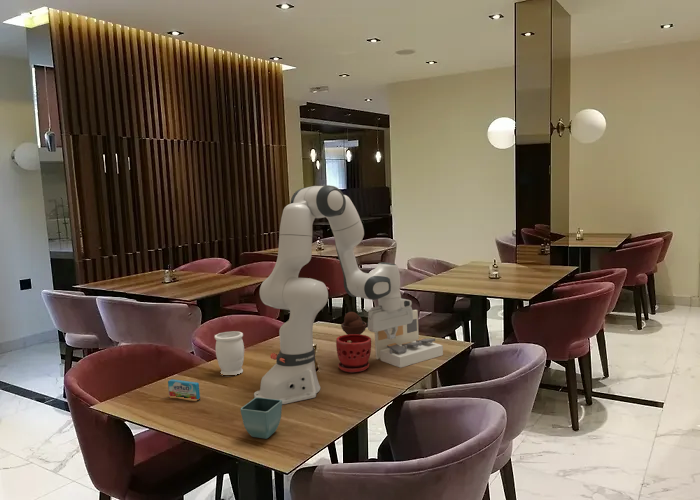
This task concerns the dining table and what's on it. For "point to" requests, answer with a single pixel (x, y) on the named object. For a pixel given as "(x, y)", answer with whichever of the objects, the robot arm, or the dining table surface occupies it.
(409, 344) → the switch middle
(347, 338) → the plant pot
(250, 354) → the dining table surface
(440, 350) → the switch unit
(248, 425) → the flower pot
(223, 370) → the jar
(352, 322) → the ice cream bowl
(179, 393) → the blue printed box
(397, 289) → the robot arm
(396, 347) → the switch near
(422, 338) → the switch far
